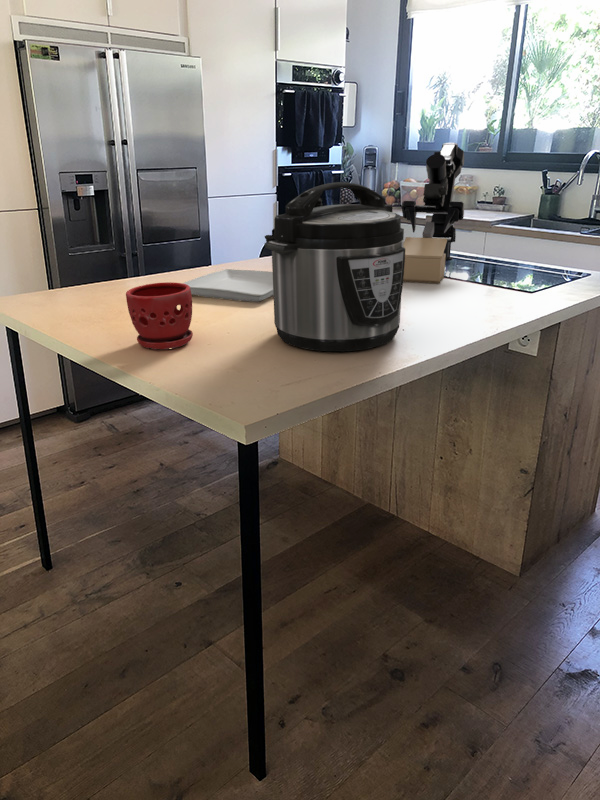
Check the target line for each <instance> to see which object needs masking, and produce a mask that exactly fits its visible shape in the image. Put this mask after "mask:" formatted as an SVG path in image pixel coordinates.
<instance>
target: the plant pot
mask: <svg viewBox="0 0 600 800" xmlns="http://www.w3.org/2000/svg"><path fill="white" fill-rule="evenodd" d="M183 283H184V282H174V281H173V282H171V281H170V282H156V283H155V282H154V283H149V284H148V283H147V284H142V285H138V286H135V287H132V288H130V289H128V290H127V291H126V293H125V299H126V305H127V310H128V313H129V316H130V320H131V323H132V325H133V327H134V329H135V331H136V332H137V334H138V335H137V336H136V341H137V342H138V344H139V345H140V346H142V347H143V348H145V347H146V349H149V348H152V349H151V350H157V349H162V350H169V348H172V349H176V348H180V347H182V346H184V345H186V344H188V343H189V342H190V341H191V340H192V339H193V336H194V332H193V331H192V330H191V329H190V325H191V324H192V317H193V297H192V295H193V294H191V289H190V286H189V285H187V284H183ZM178 306H180V307H179V309H178Z"/></svg>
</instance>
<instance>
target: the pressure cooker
mask: <svg viewBox="0 0 600 800" xmlns="http://www.w3.org/2000/svg"><path fill="white" fill-rule="evenodd" d="M340 188H341V189H349V190H350V191H351V193H352V194H353V195H354V196H355V198H356V199H357V200H358V202H359V203H358V204H357V203H356V204H350V203H349V204H348V203H345V204H344V203H343V204H328V205H323V204H324V203H322V201H323V200H324V199H323V198H322V197H321V196H322V194H323V192H325V191H330V190H337V189H340ZM401 219H402V218H401V215H400V214H398V213H396V212H393V206H392V205H391V204H386V198H385V197H383V196H382V195H381V194H379V193H378V192H377V191H375V190H373V189H371V188H369V187H367V186H365V185H362V184H358V183H354V182H349V181H348V182H347V181H346V182H345V181H342V182H341V181H338V182H337V181H336V182H328V183H324V184H321V185H318V186H314V187H312V188H309V189H308V190H305V191H304V192H302V193H300V194H299V195H298V196H296V197H294V198H293V199H292V200H291V201H289V202H288V203H287V204H286V205H285V213H283V214H277V215H275V217H274V219H273V221H274V222H273V223H274V226H273V229H271V234H266V235H264V239H265V241H266V242H265V241H264V248H265V249H267V250H269V251H270V250H271V268H272V271H271V272H273V295H272V297H273V315H274V319H273V321H274V326H275V329H276V332H277V335H278V336H279V338H280V339H281V340H282V341H283V342H285V343H286V344H288V345H290V346H292V347H296V348H301V349H307V350H311V351H321V352H323V351H324V352H353V351H362V350H367V349H372V348H375V347H376V348H377V347H380V346H383V345H385V344H387V343H389V342H390V341H392V340H393V339H394V338H395V336H396V335H397V333H398V332H399V331H398V330H399V328H400V324H401V312H402V311H401V308H402V293H403V286H404V285H403V284H404V282H403V277H404V266H405V248H403V246H404V241H405V237H404V236H405V235H404V233H405V232H404V231H405V230H404V228H402V227H401V222H402V221H401Z"/></svg>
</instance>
